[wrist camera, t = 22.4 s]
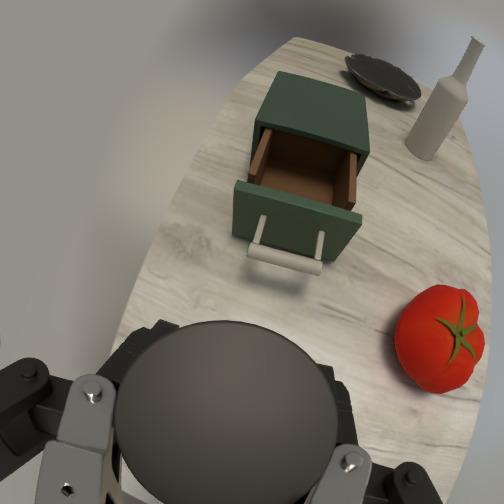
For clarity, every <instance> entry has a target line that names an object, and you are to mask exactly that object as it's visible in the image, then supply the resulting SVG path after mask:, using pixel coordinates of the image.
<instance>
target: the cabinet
mask: <svg viewBox="0 0 504 504" xmlns="http://www.w3.org/2000/svg"><path fill="white" fill-rule="evenodd" d="M266 127H267V128H272V129H276V130H280V131H284V132H288V133H292V134H296V135H300V136H304V137H307V138H311V139H314V140H318V141H321V142H325V143H328V144H331V145H334V146H338V147H341V148H344V149H347V150H350V151H353V152H356V153H357V174H356V178H357V176H358V174H359V172H360V170H361V169H362V167H363V165H364V163H365V161H366V159H367V157H368V155H369V153H370V145H369V132H368V121H367V112H366V103H365V95H363V94H360V93H357V92H354V91H351V90H348V89H345V88H342V87H339V86H336V85H332V84H329V83H325V82H322V81H318V80H315V79H311V78H307V77H303V76H299V75H295V74H290V73H286V72H281V71H278V73H277V75H276V77H275V79H274V81H273V83H272V85H271V87H270V89H269V91H268V93H267V95H266V97H265V99H264V102H263V104H262V106H261V108H260V110H259V112H258V114H257V116H256V118H255V125H254V133H253V142H252V151H251V161H250V167H251V164H252V162H253V159H254V156H255V154H256V151H257V149H258V146H259V144H260V141H261V138H262V136H263V133H264V131H265V128H266Z"/></svg>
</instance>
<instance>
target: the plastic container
mask: <svg viewBox="0 0 504 504" xmlns="http://www.w3.org/2000/svg"><path fill="white" fill-rule="evenodd" d="M114 427H115V434H116V439H117V443H118V446H119V449H120V452H121V454H122V457H123V459H124V461H125V463H126V464H127V466H128V468H129V470H130V471H131V473H132V474H133V475H134V477H135V478H136V479H137V481H138V482H139V483H140V484H141V485H142V486H143V487H144V488H145V489H146V490H147V491H148V492H149V493H150V494H152V495H153V496H154V497H155V498H157V499H158V500H159V501H161V502H162V503H164V504H294V503H295V502H297V501H298V500H299V499H301V498H302V497H303V496H304V495H306V494H307V493H308V492H309V491H310V490H311V489H312V488H313V487H314V486H315V485H316V483H317V482H318V481H319V479H320V478H321V477H322V475H323V474H324V472H325V470H326V468H327V467H328V465H329V463H330V461H331V458H332V455H333V453H334V450H335V446H336V441H337V436H338V412H337V407H336V402H335V398H334V395H333V392H332V390H331V387H330V385H329V383H328V381H327V379H326V377H325V375H324V373H323V372H322V371H321V369H320V368H319V367H318V365H317V364H316V362H315V361H314V360H313V359H312V358H311V357H310V356H309V355H308V354H307V353H306V352H305V351H304V350H302V349H301V348H300V347H299V346H298V345H296V344H295V343H294V342H292V341H290V340H289V339H287V338H286V337H284V336H282V335H280V334H278V333H276V332H274V331H272V330H270V329H267V328H264V327H261V326H258V325H255V324H250V323H245V322H239V321H228V320H220V321H206V322H199V323H195V324H191V325H187V326H184V327H181V328H179V329H176V330H174V331H171V332H169V333H167V334H166V335H164V336H162V337H160V338H159V339H157V340H156V341H154V342H153V343H152V344H150V345H149V346H148V347H147V348H146V349H144V350H143V351H142V352H141V353H140V354H139V355H138V356H137V358H136V359H135V360H134V362H133V363H132V364H131V365H130V367H129V368H128V370H127V372H126V374H125V375H124V377H123V379H122V382H121V384H120V387H119V389H118V392H117V397H116V401H115V409H114Z"/></svg>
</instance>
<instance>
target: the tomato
mask: <svg viewBox="0 0 504 504" xmlns="http://www.w3.org/2000/svg"><path fill="white" fill-rule="evenodd" d="M478 315H479V310H478V306H477V302H476V300H475V299H474V298H473V296H472V295H471V294H470V293H469V292H468V291H467V290H465V289H457V288H454V287H450V286H447V285H438V284H437V285H435V286H432V287H430V288H428V289H426V290H425V291H423V292H421V293H420V294H418V295H417V296H416V297H415V298H414V299H413V300H412V301H411V302H410V303H409V305H408V306H407V307H406V308H405V309H404V310H403V312H402V314H401V316H400V318H399V320H398V321H397V326H396V331H395V336H394V341H395V349H396V353H397V356H398V358H399V361H400V363H401V365H402V367H403V368H404V370H405V371H406V373H407V375H408V376H410V377H411V378H412V379H413V380H414V381H416V382H417V384H418V385H419V386H420V388H422V389H424V390H426V391H429V392H431V393H436V394H442V393H445V392H448V391H451V390H454V389H457V388H460V387H461V386H462V385H463V384H465V383H466V382H467V381H468V379H469V377H470V376H471V374H472V372H473V369H474V366H475V365H476V364H477V362H478V361H479V360H480V358H481V357H482V354H483V350H484V345H485V342H484V335H483V332H482V331H481V329H480V328H479V326H478V324H477V320H478Z"/></svg>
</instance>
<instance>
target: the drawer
mask: <svg viewBox="0 0 504 504" xmlns="http://www.w3.org/2000/svg"><path fill="white" fill-rule="evenodd" d="M356 174H357V153H356V152H353V151H350V150H347V149H344V148H341V147H338V146H334V145H331V144H328V143H325V142H321V141H318V140H314V139H311V138H307V137H304V136H300V135H296V134H292V133H288V132H284V131H280V130H276V129H272V128H267V127H266V128H265V131H264V133H263V136H262V138H261V141H260V144H259V146H258V149H257V151H256V154H255V156H254V159H253V162H252V164H251V167H250V170H249V172H248V179H247V182H243V181H239V180H237V182H236V185H235V187H234V196H233V223H232V234H233V235H237V236H241V237H244V238H248V239H252V240H253V243H250V245H249V248H248V252H247V257H249V258H253V259H256V260H260V261H264V262H267V263H271V264H275V265H279V266H282V267H286V268H290V269H294V270H297V271H301V272H305V273H309V274H312V275H316V276H319V275H320V273H321V271H322V267H323V262H322V261H320V260H321V258H322V259H326V260H330V261H333V262H334V261H335V260H336V258H337V257H338V256H339V255H340V253H341V252H342V251H343V249H344V248H345V247H346V245H347V244H348V243H349V241H350V240H351V239H352V237H353V236H354V235H355V233H356V232H357V231H358V229H359V228H360V227H361V225H362V215H361V214H358V213H355V212H352V211H351V210H352V208H353V207H354V205H355V204H356ZM260 242H263V243H267V244H271V245H274V246H278V247H282V248H286V249H289V250H293V251H297V252H300V253H304V254H308V255H311V256H314V259H311V258H307V257H303V256H300V255H296V254H292V253H289V252H285V251H281V250H277V249H274V248H270V247H266V246H263V245H259V243H260Z"/></svg>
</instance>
